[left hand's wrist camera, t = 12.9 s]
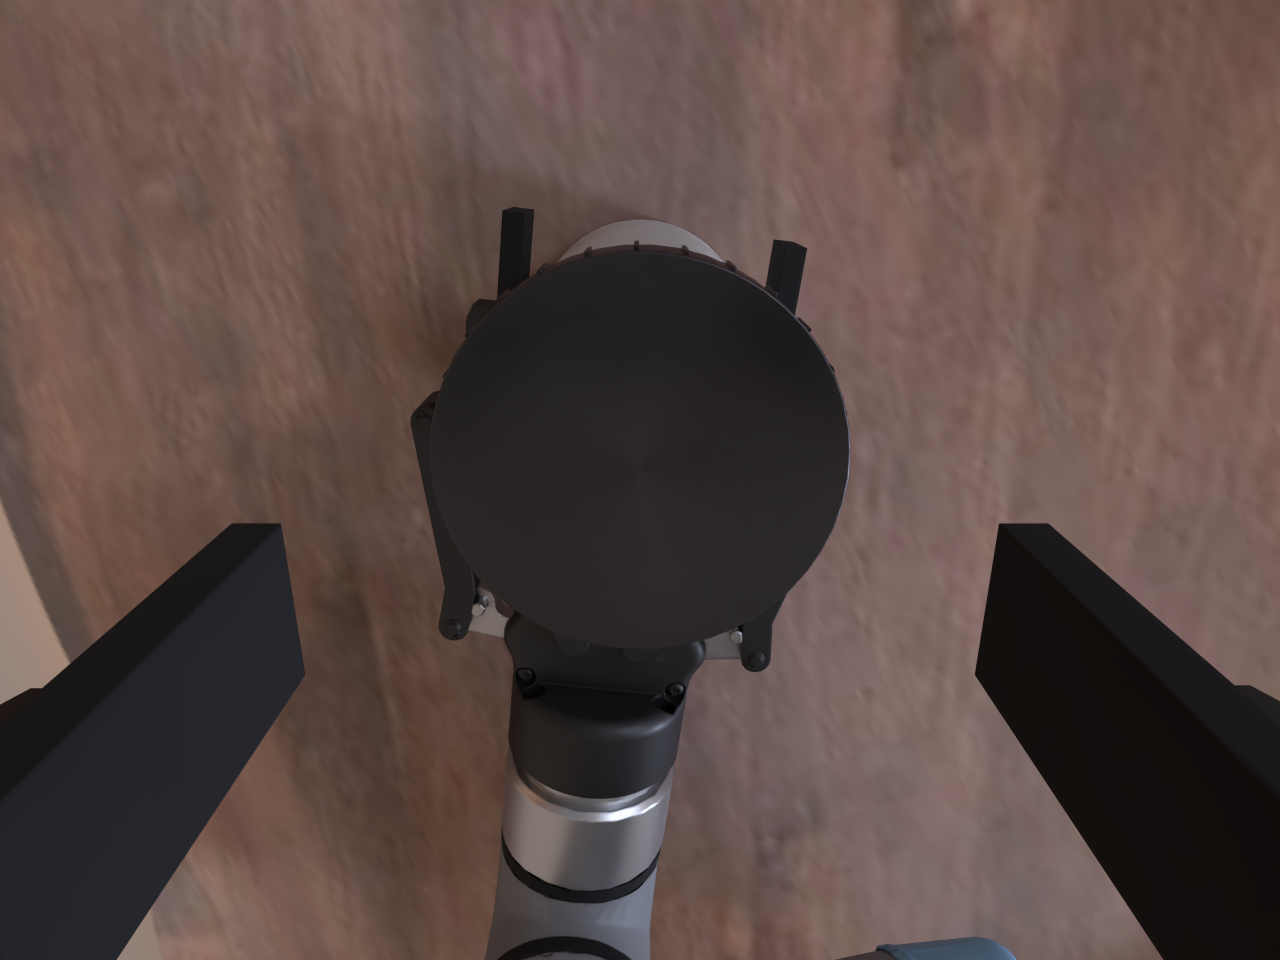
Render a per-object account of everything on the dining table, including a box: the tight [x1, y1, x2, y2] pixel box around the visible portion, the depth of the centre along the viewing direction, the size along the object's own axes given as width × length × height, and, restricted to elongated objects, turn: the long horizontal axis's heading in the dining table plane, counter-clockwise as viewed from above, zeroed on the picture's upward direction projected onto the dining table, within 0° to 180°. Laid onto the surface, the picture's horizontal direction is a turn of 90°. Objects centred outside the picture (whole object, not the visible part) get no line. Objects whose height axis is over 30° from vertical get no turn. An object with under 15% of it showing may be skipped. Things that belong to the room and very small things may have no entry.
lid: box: [430, 240, 850, 649], centre depth 20 cm, size 10×10×2 cm
